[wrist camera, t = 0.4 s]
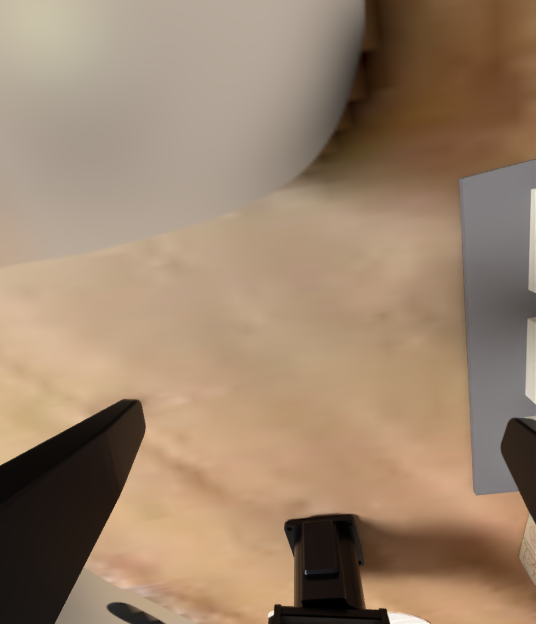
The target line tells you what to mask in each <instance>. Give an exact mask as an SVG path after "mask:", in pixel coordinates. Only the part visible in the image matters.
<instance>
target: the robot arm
mask: <svg viewBox="0 0 536 624" xmlns="http://www.w3.org/2000/svg"><path fill="white" fill-rule="evenodd" d="M145 429H146V425H145V419H144V414H143V409H142V404H141V402H140V401H139V400H137V399H123V400H121V401H119V402H117V403H115V404H113V405H111V406H110V407H108V408H106V409H104V410H102V411H100V412H98V413H97V414H95V415H93V416H91V417H89V418H87V419H85V420H84V421H82V422H80V423H78V424H76V425H74V426H72V427H71V428H69V429H67V430H65V431H63V432H61V433H60V434H58V435H56V436H54V437H52V438H50V439H48V440H47V441H45V442H43V443H41V444H39V445H37V446H35V447H34V448H32V449H30V450H28V451H26V452H24V453H22V454H21V455H19V456H17V457H15V458H13V459H11V460H10V461H8V462H6V463H4V464H2V465H0V624H55V622H56V620H57V618H58V616H59V614H60V612H61V610H62V608H63V606H64V604H65V602H66V600H67V598H68V596H69V594H70V592H71V590H72V588H73V587H74V585H75V583H76V581H77V578H78V577H79V575H80V573H81V571H82V569H83V567H84V565H85V563H86V561H87V559H88V557H89V555H90V553H91V551H92V549H93V547H94V546H95V544H96V542H97V540H98V538H99V536H100V534H101V532H102V530H103V528H104V526H105V524H106V522H107V520H108V518H109V516H110V514H111V512H112V510H113V508H114V506H115V504H116V502H117V500H118V498H119V496H120V494H121V492H122V490H123V487H124V485H125V483H126V480H127V478H128V475H129V472H130V470H131V467H132V465H133V462H134V460H135V457H136V455H137V452H138V450H139V447H140V444H141V442H142V439H143V437H144V434H145ZM500 449H501V454H502V457H503V459H504V461H505V463H506V465H507V467H508V469H509V471H510V473H511V475H512V477H513V479H514V482H515V484H516V486H517V488H518V490H519V492H520V494H521V496H522V498H523V500H524V502H525V504H526V507H527V509H528V511H529V513H530V515H531V517H532V519H533V520H534V522H535V524H536V420H534V419H531V418H516V417H514V418H511V419H510V420H509V421H508V423H507V426H506V429H505V432H504V435H503V438H502V441H501V446H500ZM284 530H285V533H286V536H287V538H288V541H289V544H290V547H291V550H292V553H293V556H294V607H293V606H282V605H280V604H275V606H274V615H272V616H271V617H269V621H268V624H390V621H389V617H388V613H387V609H384V608H379V610H369V609H366V607H365V601H364V595H363V589H362V582H361V576H360V570H359V566H362V565H363V564H364V559H363V555H362V550H361V546H360V542H359V538H358V533H357V529H356V525H355V521H354V518H353V517H352V516H339V517H329V518H318V519H307V520H297V521H287V522H285V524H284Z"/></svg>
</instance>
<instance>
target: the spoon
mask: <svg viewBox="0 0 536 624" xmlns="http://www.w3.org/2000/svg"><path fill="white" fill-rule="evenodd" d="M387 613H388V617H389V621H390V624H431V623H429V622H428V621H426V620H425V619H422V618H420V617H418V616H414V615H411V614H407V613H401V612H387ZM272 615H274V611H271V612H269V614H268V619H269V617H271V616H272Z"/></svg>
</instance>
